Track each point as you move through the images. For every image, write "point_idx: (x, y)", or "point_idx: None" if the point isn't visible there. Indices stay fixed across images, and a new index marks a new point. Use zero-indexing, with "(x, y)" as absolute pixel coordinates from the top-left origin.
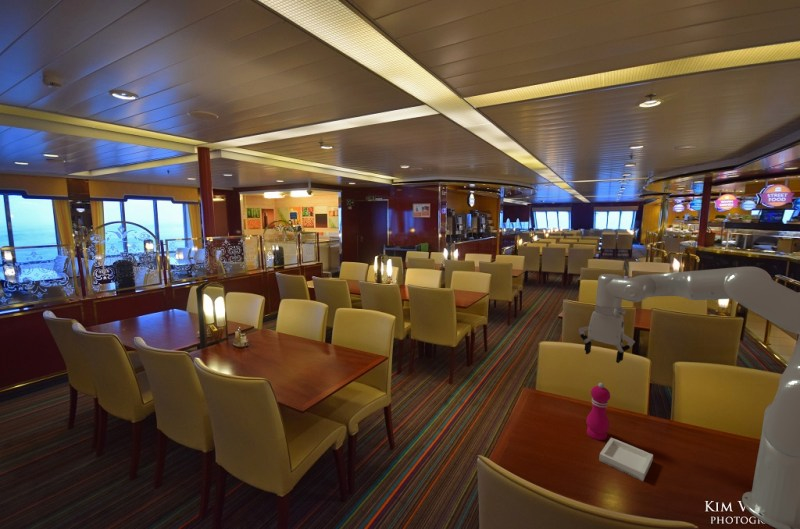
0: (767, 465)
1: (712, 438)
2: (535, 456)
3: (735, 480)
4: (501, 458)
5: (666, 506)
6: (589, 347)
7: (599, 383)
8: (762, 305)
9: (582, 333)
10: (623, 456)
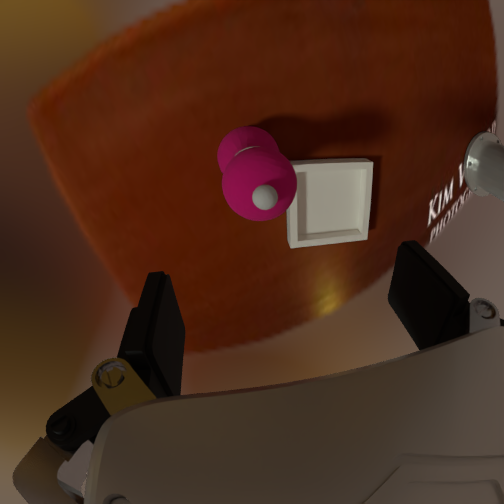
0: None
1: None
2: (201, 315)
3: (459, 112)
4: None
5: (389, 258)
6: (173, 350)
7: (258, 204)
8: None
9: (83, 473)
10: (322, 196)
